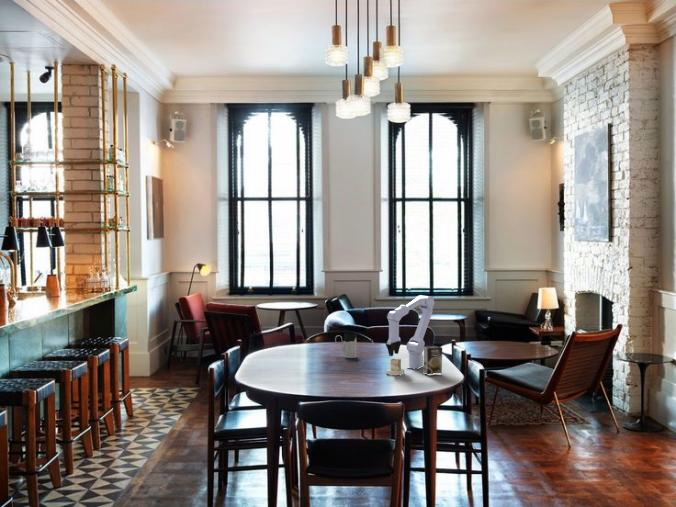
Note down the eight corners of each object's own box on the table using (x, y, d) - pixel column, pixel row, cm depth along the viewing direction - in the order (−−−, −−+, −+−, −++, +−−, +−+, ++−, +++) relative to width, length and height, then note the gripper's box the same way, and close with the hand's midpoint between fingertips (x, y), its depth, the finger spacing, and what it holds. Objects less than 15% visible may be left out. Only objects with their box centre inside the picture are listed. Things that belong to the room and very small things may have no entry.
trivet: (391, 372, 390) (391, 367, 390) (404, 373, 386) (404, 369, 386) (385, 374, 383) (385, 370, 383) (398, 376, 379) (398, 371, 379)
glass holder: (357, 357, 430) (357, 334, 430) (334, 357, 430) (335, 334, 430) (356, 355, 439) (357, 332, 438) (335, 354, 439) (335, 332, 439)
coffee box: (427, 376, 380) (427, 348, 379) (423, 373, 386) (423, 346, 385) (442, 375, 382) (442, 347, 382) (437, 373, 389) (438, 345, 388)
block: (393, 368, 388) (393, 358, 387) (400, 369, 386) (400, 359, 385) (390, 370, 384) (390, 359, 383) (397, 371, 382) (397, 360, 381)
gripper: (395, 334, 383) (395, 357, 383) (405, 330, 395) (404, 353, 396) (384, 333, 386) (383, 356, 387) (394, 329, 399) (393, 352, 399)
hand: (393, 354), depth 392 cm, fingers open, 7 cm apart
